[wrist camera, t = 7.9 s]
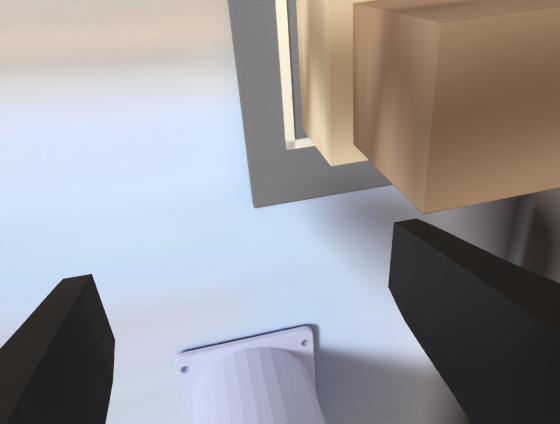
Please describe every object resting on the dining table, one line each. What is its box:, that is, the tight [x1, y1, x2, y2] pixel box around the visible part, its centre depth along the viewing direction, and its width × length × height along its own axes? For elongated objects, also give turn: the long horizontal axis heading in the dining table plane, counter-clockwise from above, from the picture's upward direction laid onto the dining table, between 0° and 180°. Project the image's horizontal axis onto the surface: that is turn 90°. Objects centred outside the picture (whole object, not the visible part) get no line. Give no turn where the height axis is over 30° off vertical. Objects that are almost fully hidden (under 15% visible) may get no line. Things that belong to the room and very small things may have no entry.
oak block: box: [296, 0, 374, 166], centre depth 16 cm, size 6×6×4 cm
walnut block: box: [353, 0, 560, 215], centre depth 12 cm, size 4×4×5 cm
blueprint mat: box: [228, 0, 393, 208], centre depth 18 cm, size 13×13×1 cm
